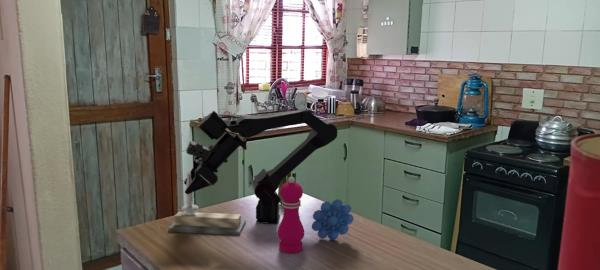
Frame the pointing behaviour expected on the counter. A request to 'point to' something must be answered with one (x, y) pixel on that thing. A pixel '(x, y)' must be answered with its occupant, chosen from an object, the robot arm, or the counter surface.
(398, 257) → the counter surface
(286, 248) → the pepper mill
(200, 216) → the stand
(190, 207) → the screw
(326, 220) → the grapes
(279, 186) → the fennel bulb
